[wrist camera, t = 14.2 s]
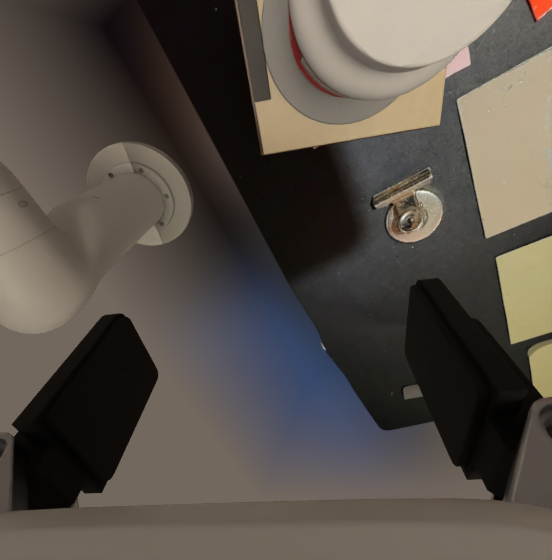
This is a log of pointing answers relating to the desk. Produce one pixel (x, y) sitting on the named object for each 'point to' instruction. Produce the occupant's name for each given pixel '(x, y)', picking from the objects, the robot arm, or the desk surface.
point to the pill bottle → (382, 41)
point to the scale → (317, 92)
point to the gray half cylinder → (412, 391)
